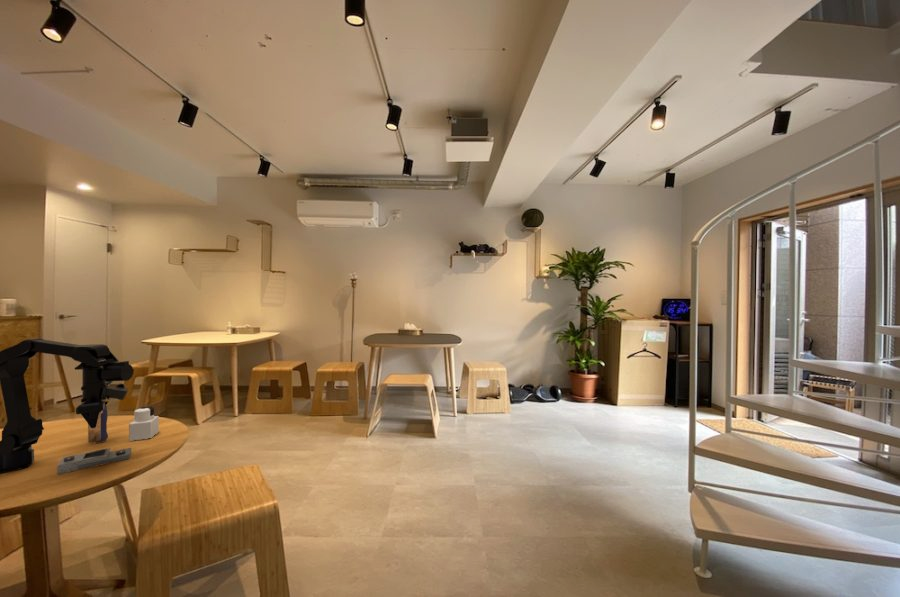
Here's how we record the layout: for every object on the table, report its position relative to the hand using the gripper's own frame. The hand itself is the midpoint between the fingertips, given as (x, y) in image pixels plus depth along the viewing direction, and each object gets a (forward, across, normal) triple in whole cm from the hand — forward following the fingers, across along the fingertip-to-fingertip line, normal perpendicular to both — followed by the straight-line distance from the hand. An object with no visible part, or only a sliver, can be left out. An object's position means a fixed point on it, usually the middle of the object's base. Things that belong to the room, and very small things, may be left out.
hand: (94, 426), depth 118 cm
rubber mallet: (+13, +22, +1) cm, 26 cm away
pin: (+5, 0, 0) cm, 5 cm away
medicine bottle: (+13, +18, -12) cm, 25 cm away
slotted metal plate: (+13, 0, 0) cm, 13 cm away
